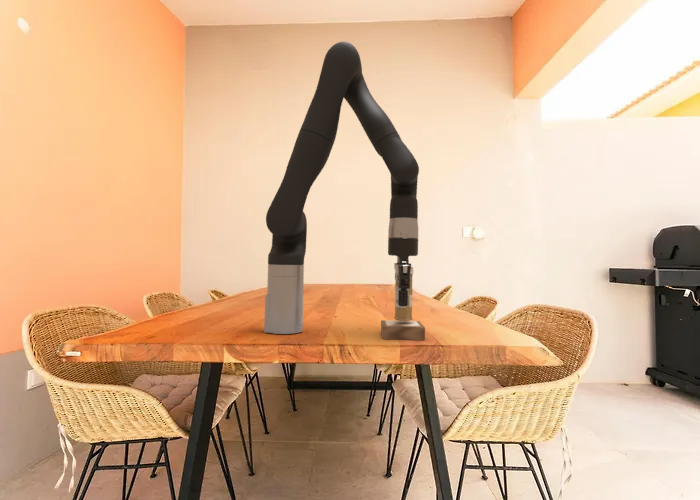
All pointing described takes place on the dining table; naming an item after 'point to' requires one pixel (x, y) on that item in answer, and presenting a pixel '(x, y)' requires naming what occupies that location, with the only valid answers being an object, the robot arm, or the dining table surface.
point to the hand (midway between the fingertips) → (401, 304)
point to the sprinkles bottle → (404, 311)
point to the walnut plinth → (402, 330)
